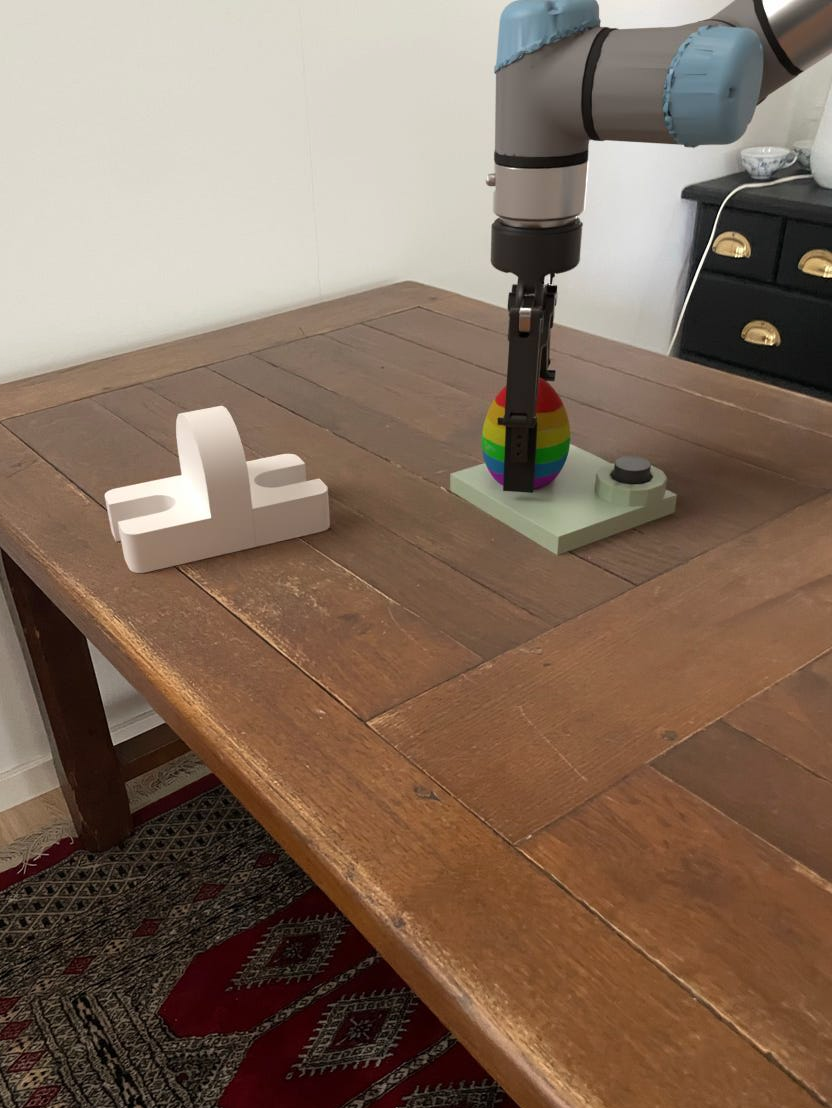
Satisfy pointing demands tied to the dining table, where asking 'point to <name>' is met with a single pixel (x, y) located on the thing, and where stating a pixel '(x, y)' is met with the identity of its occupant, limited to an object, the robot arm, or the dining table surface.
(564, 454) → the decorative egg
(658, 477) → the scale
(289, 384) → the dining table surface
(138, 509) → the bracket
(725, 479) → the dining table surface
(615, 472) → the button
